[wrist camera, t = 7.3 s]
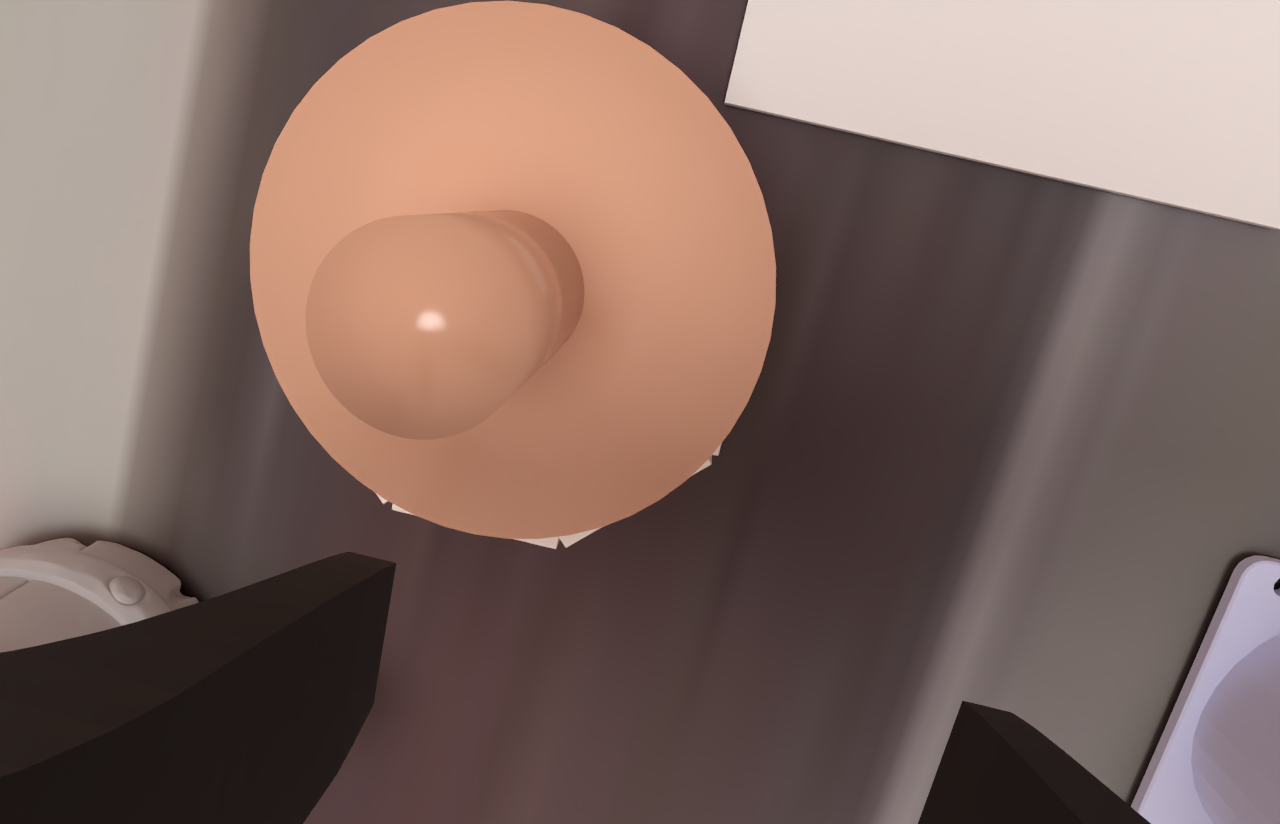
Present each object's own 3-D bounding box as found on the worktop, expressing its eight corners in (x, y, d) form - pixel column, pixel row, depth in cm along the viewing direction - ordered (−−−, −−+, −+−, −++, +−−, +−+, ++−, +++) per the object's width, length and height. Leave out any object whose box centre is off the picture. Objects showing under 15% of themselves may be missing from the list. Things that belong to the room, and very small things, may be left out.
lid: (847, 107, 15) (931, 52, 9) (680, 580, 18) (665, 766, 12) (332, -58, 15) (101, -215, 9) (236, 436, 18) (4, 553, 12)
